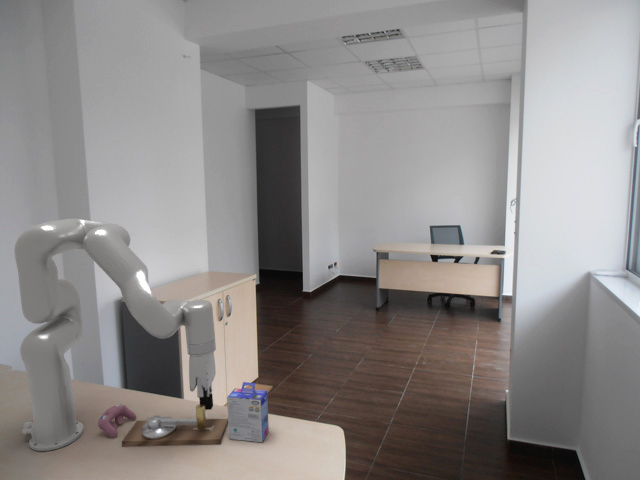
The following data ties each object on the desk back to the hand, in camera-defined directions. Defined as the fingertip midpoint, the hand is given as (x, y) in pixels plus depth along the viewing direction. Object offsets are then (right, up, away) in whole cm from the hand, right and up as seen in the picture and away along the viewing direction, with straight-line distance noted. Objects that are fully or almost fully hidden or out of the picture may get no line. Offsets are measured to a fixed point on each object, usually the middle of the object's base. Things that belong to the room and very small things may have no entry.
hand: (206, 408), depth 117 cm
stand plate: (-8, -7, -2) cm, 10 cm away
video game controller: (-26, -7, +2) cm, 27 cm away
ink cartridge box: (+12, -7, -3) cm, 14 cm away
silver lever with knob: (-8, -5, -2) cm, 10 cm away
